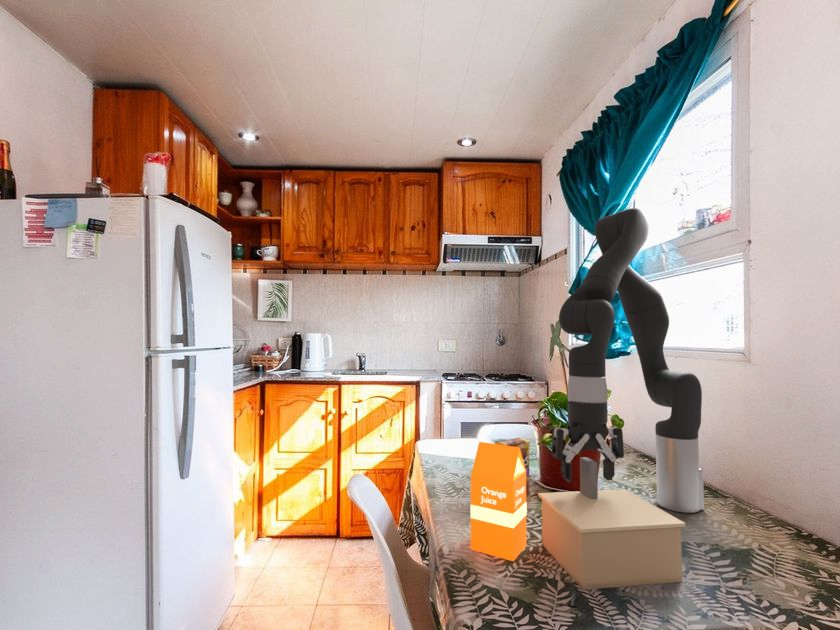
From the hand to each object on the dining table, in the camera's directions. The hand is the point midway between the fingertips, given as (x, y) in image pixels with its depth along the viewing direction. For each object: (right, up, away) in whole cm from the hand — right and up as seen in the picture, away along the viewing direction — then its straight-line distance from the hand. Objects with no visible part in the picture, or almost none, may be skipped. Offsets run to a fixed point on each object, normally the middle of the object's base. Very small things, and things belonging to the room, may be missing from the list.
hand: (587, 480), depth 88 cm
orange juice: (-18, -13, -1) cm, 22 cm away
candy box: (-10, -14, +23) cm, 29 cm away
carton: (+1, -13, -7) cm, 14 cm away
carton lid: (+1, -3, -6) cm, 7 cm away
